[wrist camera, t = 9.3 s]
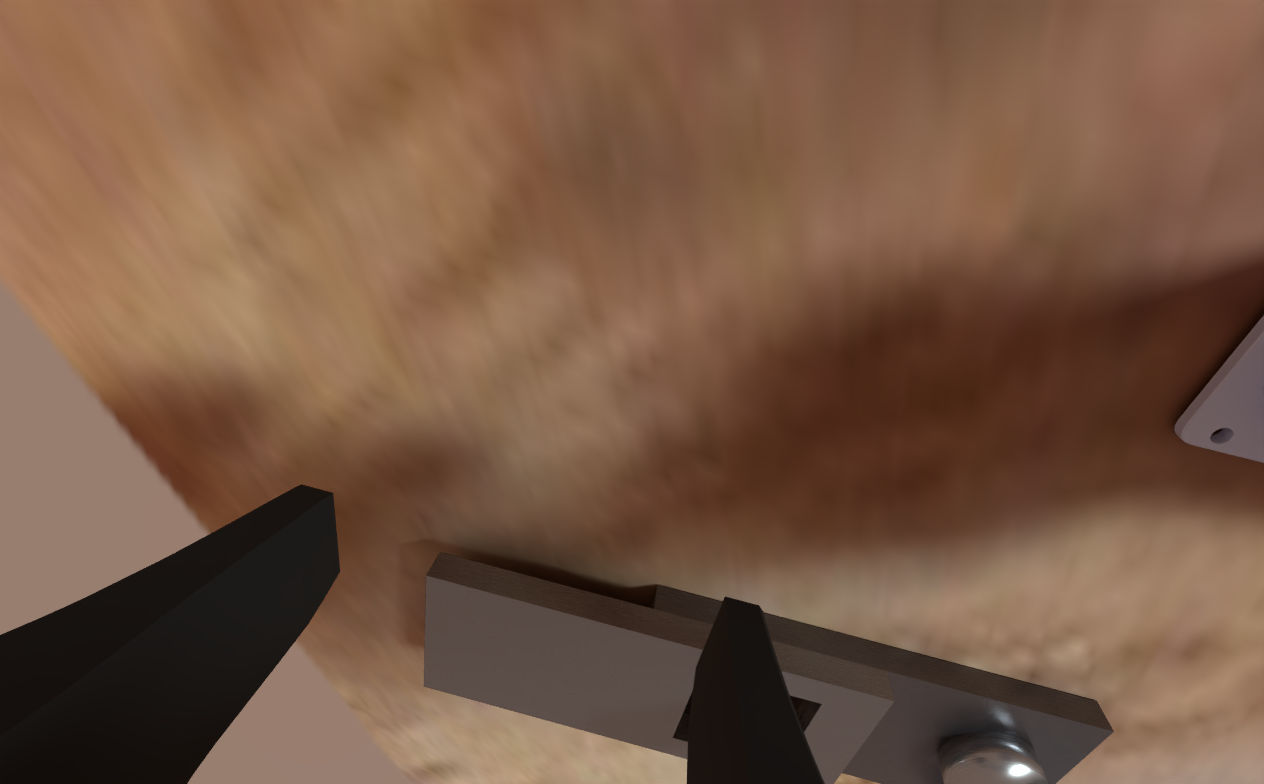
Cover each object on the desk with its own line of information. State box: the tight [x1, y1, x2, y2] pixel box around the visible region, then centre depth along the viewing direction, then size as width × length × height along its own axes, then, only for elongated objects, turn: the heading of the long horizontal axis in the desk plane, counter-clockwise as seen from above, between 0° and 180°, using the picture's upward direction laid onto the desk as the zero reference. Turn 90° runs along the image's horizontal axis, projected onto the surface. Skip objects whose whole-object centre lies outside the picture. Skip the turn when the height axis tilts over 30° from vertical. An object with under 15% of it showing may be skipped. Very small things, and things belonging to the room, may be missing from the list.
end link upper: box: [424, 552, 894, 784], centre depth 24 cm, size 18×7×2 cm, turn 79°
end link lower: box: [651, 585, 1114, 784], centre depth 24 cm, size 18×7×2 cm, turn 79°
